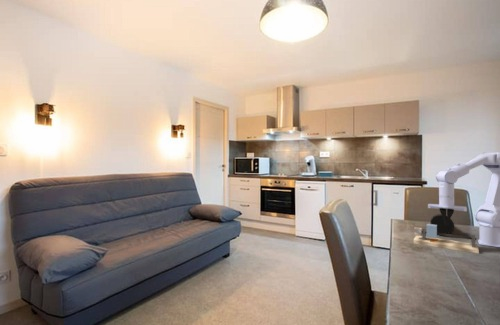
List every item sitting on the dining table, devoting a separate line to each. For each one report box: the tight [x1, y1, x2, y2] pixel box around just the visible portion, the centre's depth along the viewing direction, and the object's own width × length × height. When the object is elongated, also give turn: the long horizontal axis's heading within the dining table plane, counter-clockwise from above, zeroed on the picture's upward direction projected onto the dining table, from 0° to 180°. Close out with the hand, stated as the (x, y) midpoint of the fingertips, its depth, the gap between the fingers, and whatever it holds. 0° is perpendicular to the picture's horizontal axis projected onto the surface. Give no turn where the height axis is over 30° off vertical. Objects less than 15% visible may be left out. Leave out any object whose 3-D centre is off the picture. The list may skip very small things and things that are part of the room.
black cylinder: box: [430, 213, 455, 234], centre depth 151 cm, size 10×34×10 cm, turn 145°
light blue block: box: [426, 223, 438, 239], centre depth 125 cm, size 4×4×6 cm
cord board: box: [412, 226, 480, 254], centre depth 122 cm, size 24×10×6 cm, turn 52°
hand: (446, 224), depth 122 cm, fingers closed
